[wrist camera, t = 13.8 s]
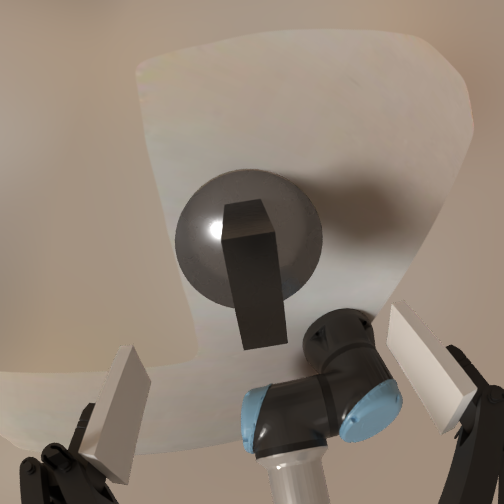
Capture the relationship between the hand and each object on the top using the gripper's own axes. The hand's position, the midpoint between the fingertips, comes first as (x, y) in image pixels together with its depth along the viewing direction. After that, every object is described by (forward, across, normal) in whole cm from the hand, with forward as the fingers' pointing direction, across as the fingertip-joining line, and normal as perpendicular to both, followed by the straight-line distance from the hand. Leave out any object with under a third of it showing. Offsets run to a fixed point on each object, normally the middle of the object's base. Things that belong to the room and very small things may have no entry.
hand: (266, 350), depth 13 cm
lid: (+14, 0, 0) cm, 14 cm away
